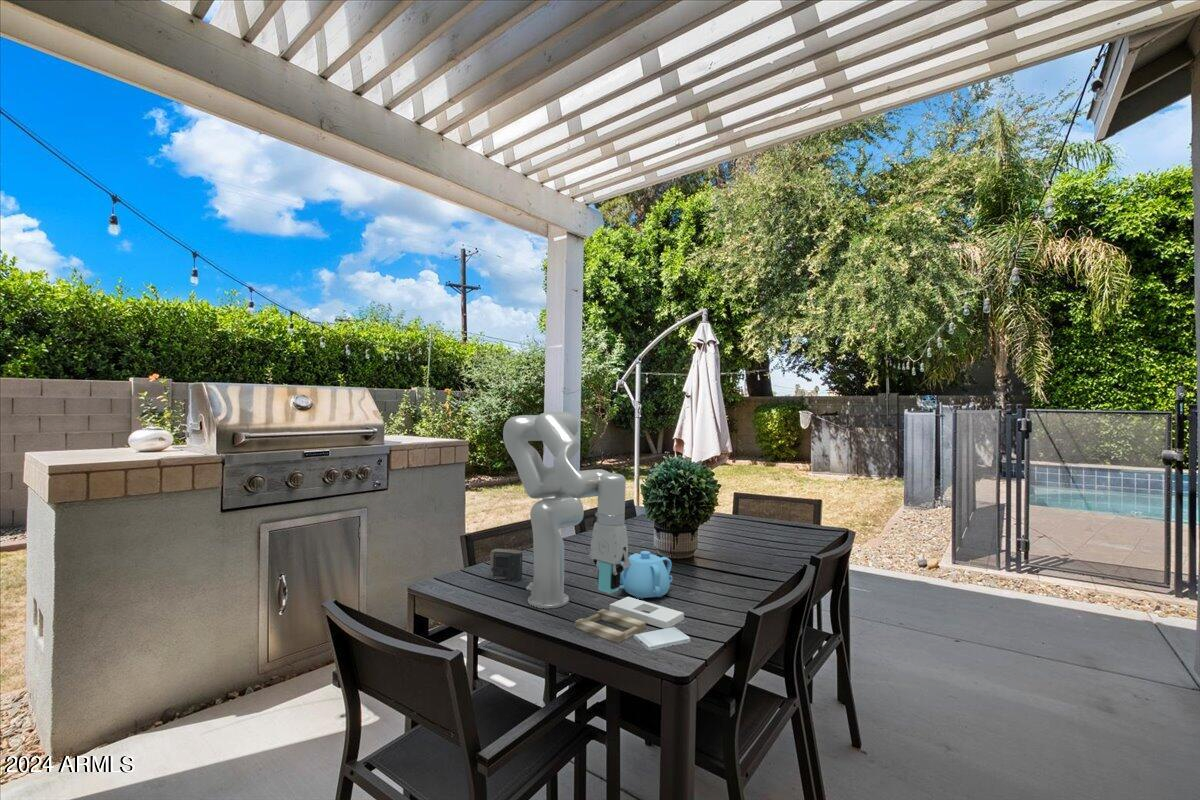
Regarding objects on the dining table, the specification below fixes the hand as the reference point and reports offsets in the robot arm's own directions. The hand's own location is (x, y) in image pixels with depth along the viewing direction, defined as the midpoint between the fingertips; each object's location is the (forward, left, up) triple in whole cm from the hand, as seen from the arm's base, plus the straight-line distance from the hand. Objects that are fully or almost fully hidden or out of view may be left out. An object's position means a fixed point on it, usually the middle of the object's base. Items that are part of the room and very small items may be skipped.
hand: (608, 585), depth 151 cm
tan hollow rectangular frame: (+1, 0, -12) cm, 12 cm away
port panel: (+3, +14, -12) cm, 18 cm away
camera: (-53, +9, -12) cm, 55 cm away
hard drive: (+15, +3, -12) cm, 20 cm away
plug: (0, 0, -1) cm, 1 cm away
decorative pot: (-8, +29, -12) cm, 32 cm away
